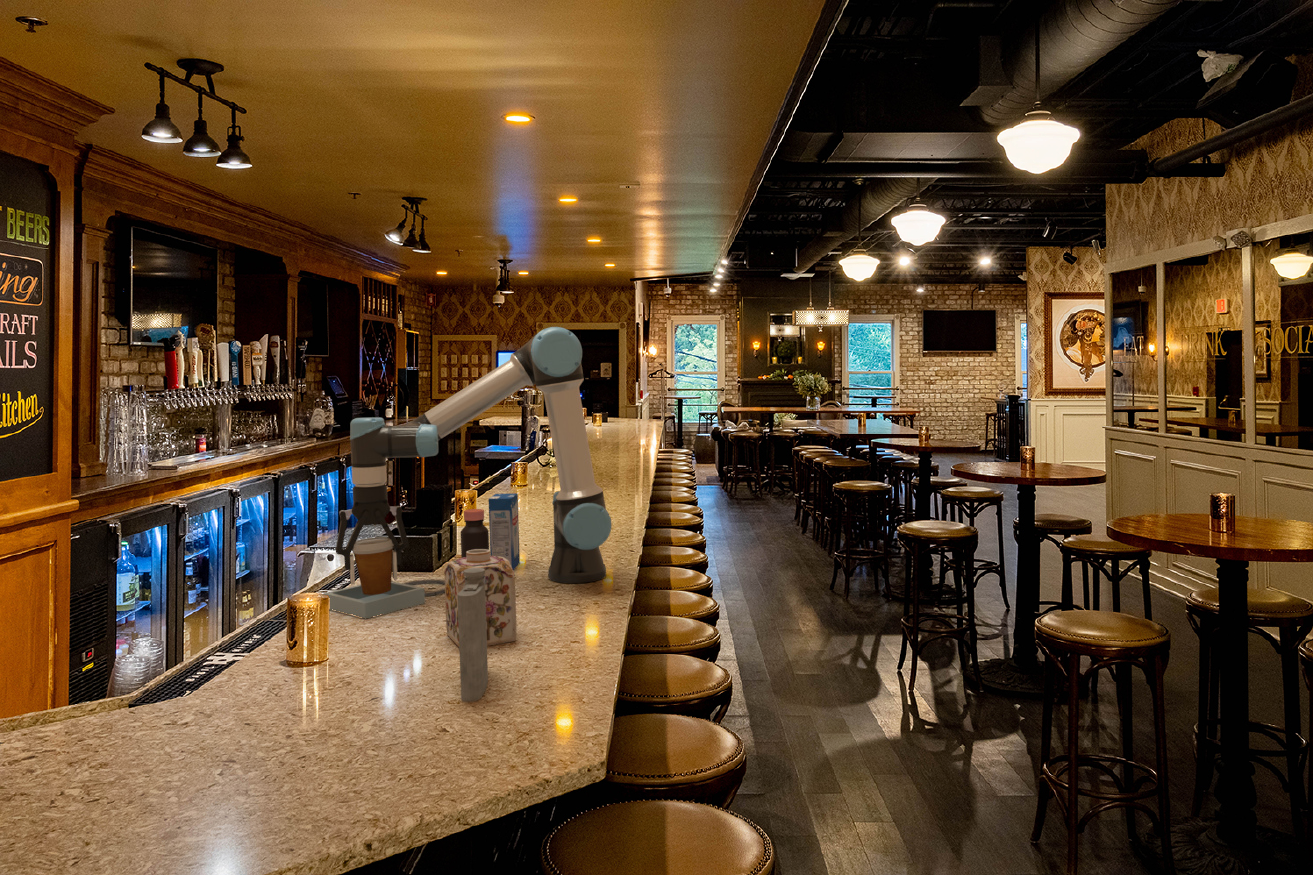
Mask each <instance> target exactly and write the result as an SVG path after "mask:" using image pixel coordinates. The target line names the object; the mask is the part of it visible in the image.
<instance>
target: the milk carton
mask: <svg viewBox="0 0 1313 875" xmlns="http://www.w3.org/2000/svg"><path fill="white" fill-rule="evenodd" d="M487 499H488V525H489V529H488V530H489V551H490V556H499V557H504V558H506V559H507V560H509V562H510V564H511V567H512V569H513V572H515V570H516V568H517V567H518V566H519V565H520V563H521V561H520V560H521V558H520V556H521V554H520V552H521V551H520V533H519V532H520V528H519V495H518V493H514V492H513V493H495V494H493V495H492V496H490V497H489V498H487Z"/></svg>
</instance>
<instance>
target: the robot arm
mask: <svg viewBox="0 0 1313 875" xmlns="http://www.w3.org/2000/svg"><path fill="white" fill-rule="evenodd" d="M582 358H583V348H582V344H581V342H580V340H579V339H578V337H577V336H576V335H575V334H574V333H573V332H572V331H570V330H568V329H566V328H564V327H561V326H560V327H559V326H550V327H547V328H544V329H542V330H540V331H539V332H538V333H535V335H533V336H532V337H531V339H530V340H528V341H527V342H526V343H525V344H523V345H522V346H521V347H520V348H519V349H517V350H516V351H514V352H513V353H511V355H510V357H509V360H508V361H506V362H504V363H502V364H500V365H499V366H498V367H495V368H494V369H493V370H491V371H489V372H488V373H487V374H485V375H483V376H482V377H480V378H479V379H477V380H475V381H473V382H472V383H470V384H469V385H467V386H466V387H464V388H463V389H461V390H460V391H458V392H456V393H454V394H453V395H451V396H450V397H448V398H446V399H445V400H444V401H442V402H440V403H438V404H437V405H435V406H434V407H432V408H430V409H429V410H428V411H426V412H424V413H423V414H421V415H419V416H418V417H416V418H415V419H413V420H411V421H408V422H407V423H405V424H404V425H403V424H402V425H387V424H386V423H385V419H384V418H383V417H356V418H354V419H352V420H351V421H350V423H349V424H350V430H349V432H350V436H349V437H350V438H349V441H350V442H349V443H350V444H349V445H350V458H351V478H352V479H351V482H352V484H353V485H354V486H353V487H352V499H353V500H352V501H353V503H352V507H351V509H347V510H344V509H341V510H339V512H338V513H339V517H340V522H339V528H338V529H339V530H338V534H337V539H336V545H335V553H336V555H341V556H343V557H344V558H343V561H344V569H345V571H349V572H350V573H349V574H350V576H349V577H350V584H351V586H352V585H353V586H354V585H355V583H356V580H355V557H354V553H352V549H353V547H354V544H355V542H356V541H358V537H359V536H360V534H361V531H362V529H363V527H364V526H370V525H376V526H377V525H381V527H382V529H383V530H384V532H385V534H386V535H387V536H386V537H389V539H391V541H392V543H393V544H394V546H393V549H394V550H393V549H392V578H393V581H397V580H398V566H399V565H401V564H402V551H403V550H404V549H405V550H406V548H407V549H408V548H409V547H410V544H409V540H408V537H407V533H406V529H405V524H404V522H403V518H402V515H403V514H402V513H403V508H402V506H400V505H396V506H390V503H389V501H388V486H387V484H386V482H387V479H388V478H387V477H388V476H387V462H386V460H387V458H388V459H393V458H427V457H434V456H437V455H438V454H439V441H440V440H441V439H443V438H444V437H446V436H448V435H449V434H451V433H452V432H454V431H456V430H457V429H459V428H460V427H462V426H464V425H465V424H467V423H468V422H470V421H472V420H473V419H475V418H476V417H479V416H480V415H481V414H483V413H485V412H486V411H487V410H489V409H491V408H493V407H495V405H497V404H498V403H500V402H502V401H503V400H505V399H507V398H508V397H510V396H511V395H513V394H515V393H516V392H518V391H520V390H521V389H523V388H524V387H526V386H530V387H533V386H535V387H536V389H537V390H539V391H541V392H542V393H543V397H544V402H545V403H544V404H545V408H546V412H547V413H546V414H547V420H548V425H549V430H550V436H551V440H552V441H551V442H552V447H553V453H554V458H555V459H554V460H555V464H556V471H557V474H558V475H557V477H558V482H559V487H560V490H559V491H555V492H554V493H553V496H552V498H553V499H552V502H551V503H552V508H553V510H552V512H553V513H552V514H553V540H554V542H553V543H554V548H553V552H552V556H551V559H550V563H549V564H550V566H548V570H547V572H548V573H547V574H548V579H549V580H550V581H552V582H556V583H562V584H582V583H584V584H585V583H591V582H596V581H601V580H602V579H604V578H606V576H607V567H606V564H605V563H604V559H603V557H602V552H601V549H600V546H602V545H603V544H605V542H606V541H607V540H608V538H609V537H610V534H611V531H612V519H611V518H612V517H611V516H610V513H609V512H608V510H607V506H606V501H605V496H604V490H603V487H600V486H599V485H597V483H596V479H595V473H594V468H593V462H592V456H591V450H590V445H589V438H588V433H587V428H586V421H585V416H584V410H583V404H582V399H581V397H582V396H581V393H580V392H581V391H580V386H581V385H582V383H583V382H584V373H583V372H584V371H583V367H582ZM389 512H391V514H392V516H394V517H395V522H396V525H397V529H398V534H399V537H400V540H401V543H399V542H398V540H397V539H396V536H395V534H394V533H393V532H392V530H391V528H390V527H389V526H390V525H389V524H388V522H387V521H386V519H385V518H386V517H387V516H388V514H389ZM351 515H352V516H354V517H355V519H356V520H357V521H356V524H355V526H354V528H353V531H352V532H351V534H350V537H349V540H348V541H347V543H346V547H345V548H344V540H345V536H346V532H347V531H346V530H347V524H348V520H349V519H350V518H351Z"/></svg>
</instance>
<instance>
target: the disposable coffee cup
mask: <svg viewBox="0 0 1313 875" xmlns="http://www.w3.org/2000/svg"><path fill="white" fill-rule="evenodd" d="M393 549H394V544H393V543H392V541H391V539H389V537H388V536H376V537H375V536H374V537H369V538H368V537H367V538H362V539H359V540H358V539H357V540H356V542H355V544H354V547H353V549H352V551H351V553H352V554H353V556H354V562H355V565H356V569H357V573H358V574H357V575H358V579H359V582H360V585H361V587H362V591H363V594H365V595H377V594H382V593H386V592H388V591H390V590H391V581H392V577H393V570H392V550H393Z"/></svg>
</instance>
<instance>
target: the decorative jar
mask: <svg viewBox="0 0 1313 875" xmlns="http://www.w3.org/2000/svg"><path fill="white" fill-rule="evenodd" d="M470 568H483V569H485V575H483V576H484V578H485V602H486V632H487V647H489V646H494V645H500V644H506V643H507V644H508V643H512V642H516V640H517V599H516V597H517V594H516V579H515V578H516V577H515V576H516V575H515V573H514V572H515V571H513V569H512V567H511V564H510V562H509V560H507V559H506V558H504V557H499V556H490V549H489V550H487V549H475V550H469V551H467V552H466V557H463V558H461V557H460V558H457V559H456V558H455V559H453V560H451V561H449V562H448V564H447V565H446V567H445V571H444V572H443V573H444V580H445V585H444V588H445V593H444V599H445V601H444V603H445V625H446V626H445V627H446V634H447V636H448V637H449V638H450V639H451V640H452V641H453V642H454V643H455V645H456V646H457V647H458V648H459V624H458V597H457V594H458V593H459V592H460V591H461V590H462V589H463V588H464V586H465V576H464V570H466V569H470Z"/></svg>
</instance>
